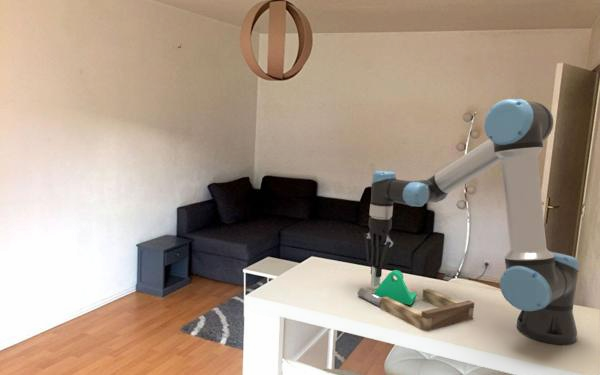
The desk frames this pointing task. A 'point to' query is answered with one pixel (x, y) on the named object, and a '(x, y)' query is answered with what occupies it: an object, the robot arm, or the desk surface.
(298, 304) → the desk surface
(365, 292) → the shaft stub
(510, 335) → the desk surface
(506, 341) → the desk surface
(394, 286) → the camera mount
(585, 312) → the desk surface
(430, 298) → the u-shaped wooden frame
